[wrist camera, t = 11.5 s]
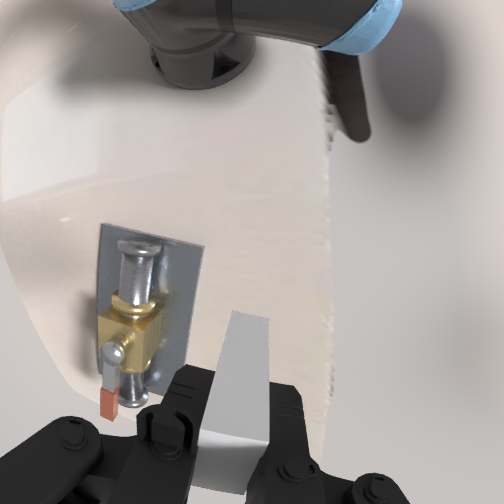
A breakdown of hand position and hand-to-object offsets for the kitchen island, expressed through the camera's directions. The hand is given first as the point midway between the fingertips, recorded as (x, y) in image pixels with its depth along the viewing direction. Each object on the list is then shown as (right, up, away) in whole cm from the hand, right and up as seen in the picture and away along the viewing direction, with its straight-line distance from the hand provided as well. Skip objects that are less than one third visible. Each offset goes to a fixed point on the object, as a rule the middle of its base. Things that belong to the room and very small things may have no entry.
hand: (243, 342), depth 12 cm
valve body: (-17, -7, +31) cm, 36 cm away
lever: (-19, -14, +23) cm, 33 cm away
